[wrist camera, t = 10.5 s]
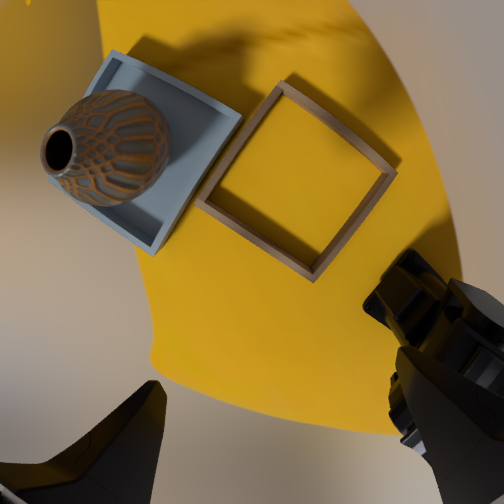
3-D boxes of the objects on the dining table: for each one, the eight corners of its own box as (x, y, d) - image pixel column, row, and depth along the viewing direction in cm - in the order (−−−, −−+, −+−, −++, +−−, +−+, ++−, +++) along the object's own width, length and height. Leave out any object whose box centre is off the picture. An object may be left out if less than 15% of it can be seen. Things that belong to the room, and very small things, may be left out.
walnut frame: (390, 171, 18) (398, 173, 16) (310, 276, 21) (313, 283, 19) (279, 84, 16) (280, 79, 15) (197, 201, 19) (193, 204, 18)
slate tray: (243, 119, 17) (242, 115, 15) (162, 247, 20) (153, 256, 18) (124, 56, 15) (112, 49, 13) (62, 177, 18) (47, 180, 16)
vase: (108, 97, 16) (27, 78, 7) (194, 105, 16) (141, 71, 8) (92, 185, 18) (10, 213, 10) (172, 203, 18) (110, 244, 10)
